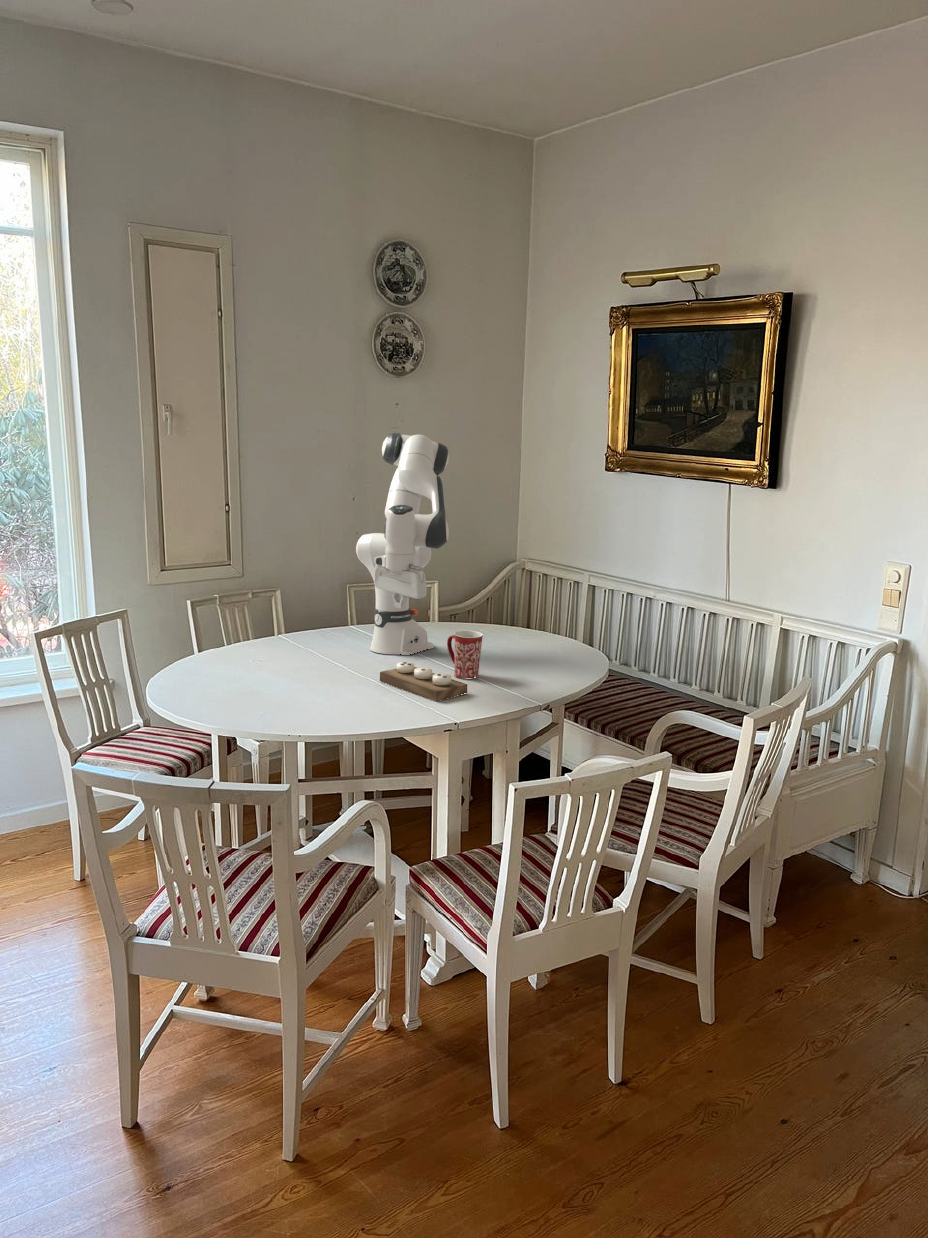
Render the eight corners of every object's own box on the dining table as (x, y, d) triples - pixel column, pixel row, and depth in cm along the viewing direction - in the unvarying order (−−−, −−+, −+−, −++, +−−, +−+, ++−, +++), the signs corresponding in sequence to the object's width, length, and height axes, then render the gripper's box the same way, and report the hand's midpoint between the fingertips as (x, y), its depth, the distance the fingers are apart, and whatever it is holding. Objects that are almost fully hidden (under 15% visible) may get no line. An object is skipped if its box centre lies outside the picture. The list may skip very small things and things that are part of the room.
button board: (410, 675, 288) (410, 665, 288) (467, 694, 271) (467, 684, 270) (379, 681, 280) (379, 671, 279) (436, 701, 262) (436, 691, 262)
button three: (406, 667, 284) (406, 660, 283) (417, 671, 280) (417, 664, 280) (392, 670, 280) (393, 663, 280) (404, 674, 277) (404, 666, 276)
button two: (442, 679, 273) (442, 672, 272) (454, 683, 269) (454, 676, 268) (428, 682, 269) (428, 674, 269) (440, 686, 265) (441, 679, 265)
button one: (423, 673, 278) (424, 666, 278) (435, 677, 275) (435, 669, 274) (410, 676, 275) (410, 668, 274) (422, 680, 271) (422, 672, 271)
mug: (487, 677, 289) (489, 634, 286) (466, 682, 283) (468, 638, 280) (458, 668, 298) (460, 626, 295) (437, 673, 292) (439, 630, 289)
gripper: (432, 566, 270) (431, 613, 273) (386, 555, 284) (386, 600, 287) (415, 568, 266) (414, 616, 269) (370, 557, 280) (370, 603, 283)
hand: (399, 607), depth 278 cm, fingers closed
